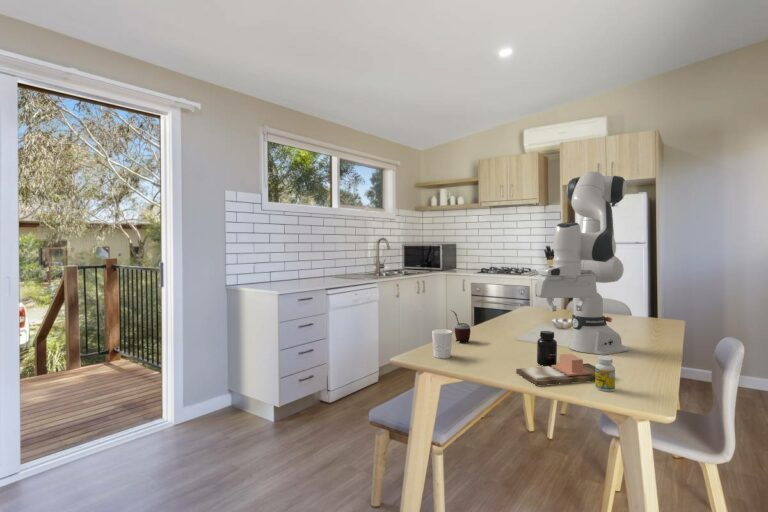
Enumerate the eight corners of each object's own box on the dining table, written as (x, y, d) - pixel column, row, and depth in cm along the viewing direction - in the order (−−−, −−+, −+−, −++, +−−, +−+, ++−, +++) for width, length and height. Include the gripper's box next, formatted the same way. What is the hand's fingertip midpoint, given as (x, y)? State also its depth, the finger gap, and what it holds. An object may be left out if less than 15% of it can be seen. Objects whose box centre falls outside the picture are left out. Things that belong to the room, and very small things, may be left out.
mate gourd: (472, 341, 192) (472, 308, 191) (466, 344, 185) (466, 310, 185) (457, 339, 196) (457, 307, 195) (450, 342, 189) (450, 309, 189)
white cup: (454, 354, 170) (454, 330, 170) (449, 359, 163) (448, 334, 163) (435, 352, 174) (435, 328, 173) (429, 357, 167) (429, 332, 166)
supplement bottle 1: (554, 368, 152) (555, 334, 151) (535, 365, 155) (535, 332, 155) (558, 363, 157) (558, 331, 157) (539, 360, 161) (539, 329, 160)
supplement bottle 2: (618, 390, 129) (619, 359, 129) (606, 393, 127) (606, 361, 127) (603, 384, 134) (603, 354, 134) (591, 387, 132) (591, 357, 131)
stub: (572, 365, 149) (572, 352, 149) (591, 374, 139) (591, 360, 139) (551, 366, 147) (551, 353, 147) (569, 376, 137) (569, 362, 137)
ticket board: (588, 367, 152) (588, 361, 152) (614, 379, 139) (614, 372, 139) (516, 373, 146) (516, 366, 146) (536, 386, 134) (536, 379, 134)
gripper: (589, 269, 148) (589, 309, 148) (534, 269, 145) (533, 309, 146) (601, 270, 141) (600, 312, 142) (543, 270, 139) (542, 312, 139)
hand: (566, 310), depth 144 cm, fingers open, 8 cm apart
